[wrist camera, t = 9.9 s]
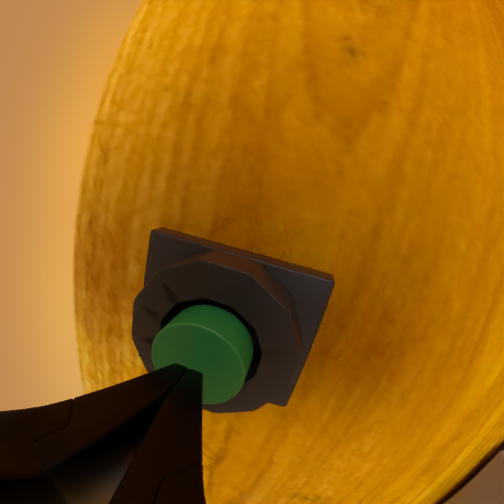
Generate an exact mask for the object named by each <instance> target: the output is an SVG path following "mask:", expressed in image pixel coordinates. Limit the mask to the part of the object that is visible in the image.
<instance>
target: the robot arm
mask: <svg viewBox="0 0 504 504" xmlns="http://www.w3.org/2000/svg"><path fill="white" fill-rule="evenodd" d="M202 397H203V374H202V373H201V372H199V371H196V370H193V369H188V368H187V367H185V366H183V365H180V364H178V363H173V364H170V365H168V366H165V367H163V368H160V369H158V370H155V371H152V372H150V373H147V374H144V375H142V376H139V377H136V378H133V379H130V380H128V381H125V382H122V383H119V384H116V385H113V386H110V387H107V388H104V389H101V390H98V391H95V392H92V393H89V394H85V395H82V396H79V397H76V398H74V400H73V399H69V400H65V401H62V402H58V403H54V404H50V405H45V406H40V407H34V408H27V409H19V410H10V411H0V504H206V501H205V495H204V484H203V465H202V462H203V461H202Z"/></svg>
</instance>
